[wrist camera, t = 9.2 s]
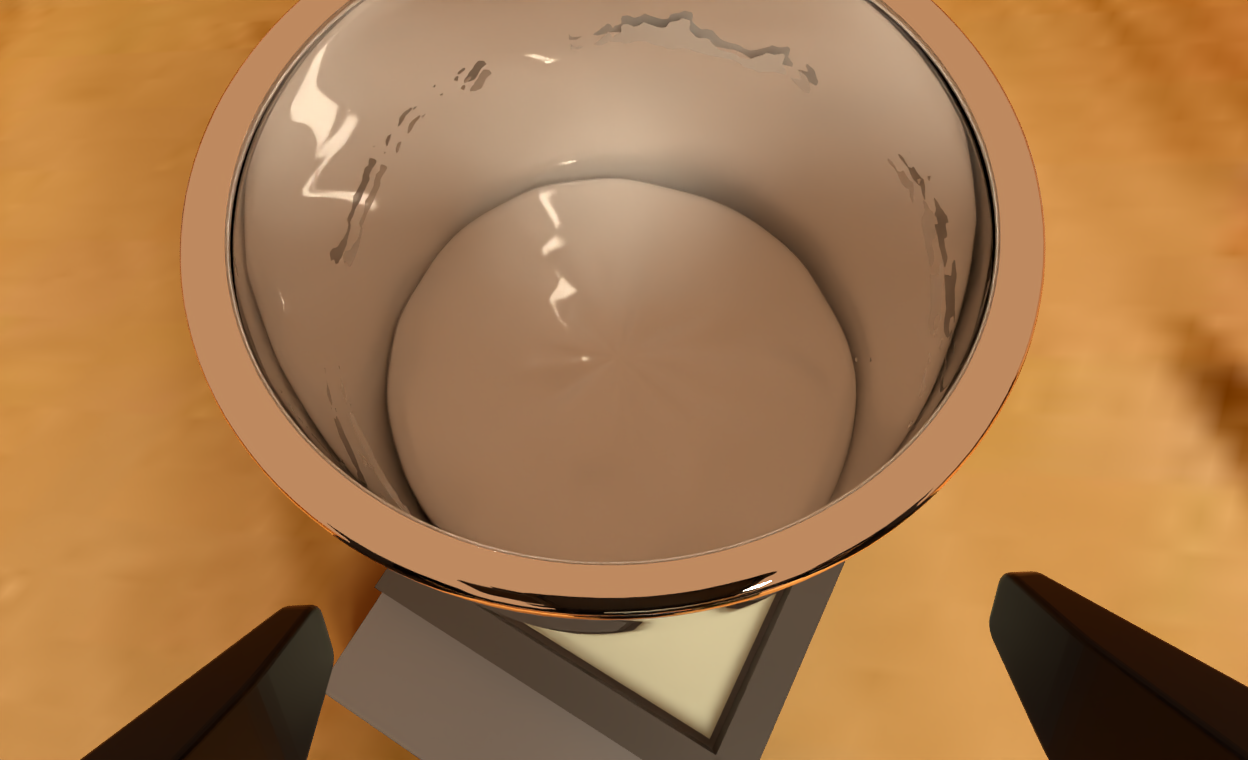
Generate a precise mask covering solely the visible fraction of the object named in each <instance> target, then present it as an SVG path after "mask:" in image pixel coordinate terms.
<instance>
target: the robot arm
mask: <svg viewBox="0 0 1248 760" xmlns="http://www.w3.org/2000/svg"><path fill="white" fill-rule="evenodd" d="M989 627H990V632H991V636H992V639H993V641H994V643H995V646H996V648H997V650H998V652H999V654H1000V656H1001V659H1002V661H1003V663H1004V665H1005V667H1006V670H1007V672H1008V674H1009V676H1010V678H1011V681H1012V683H1013V685H1014V687H1015V689H1016V691H1017V694H1018V696H1019V698H1020V700H1021V702H1022V705H1023V707H1024V709H1025V711H1026V713H1027V716H1028V718H1029V720H1030V722H1031V724H1032V726H1033V729H1034V731H1035V733H1036V735H1037V737H1038V739H1039V741H1040V743H1041V745H1042V747H1043V749H1044V751H1045V753H1046V755H1047V757H1048V759H1049V760H1248V687H1247V686H1245V685H1243V684H1241V683H1240V682H1238V681H1236V680H1234V679H1232V678H1231V677H1229V676H1227V675H1225V674H1223V673H1221V672H1220V671H1218V670H1216V669H1214V668H1212V667H1210V666H1209V665H1207V664H1205V663H1203V662H1201V661H1200V660H1198V659H1196V658H1194V657H1192V656H1190V655H1189V654H1187V653H1185V652H1183V651H1181V650H1180V649H1178V648H1176V647H1174V646H1172V645H1170V644H1169V643H1167V642H1165V641H1163V640H1161V639H1159V638H1158V637H1156V636H1154V635H1152V634H1150V633H1149V632H1147V631H1145V630H1143V629H1141V628H1139V627H1138V626H1136V625H1134V624H1132V623H1130V622H1129V621H1127V620H1125V619H1123V618H1121V617H1119V616H1118V615H1116V614H1114V613H1112V612H1110V611H1108V610H1107V609H1105V608H1103V607H1101V606H1099V605H1098V604H1096V603H1094V602H1092V601H1090V600H1088V599H1087V598H1085V597H1083V596H1081V595H1079V594H1077V593H1076V592H1074V591H1072V590H1070V589H1068V588H1067V587H1065V586H1063V585H1061V584H1059V583H1057V582H1056V581H1054V580H1052V579H1050V578H1048V577H1047V576H1045V575H1043V574H1041V573H1038V572H1032V571H1030V572H1010V573H1006V574H1004V575H1003V576H1002V577H1001V578H1000V581H999V584H998V588H997V592H996V596H995V599H994V603H993V607H992V611H991V615H990V620H989ZM333 661H334V654H333V648H332V645H331V641H330V638H329V635H328V631H327V628H326V625H325V622H324V618H323V615H322V612H321V610H320V609H319V608H318V607H317V606H314V605H298V606H287V607H284V608H282V609H280V610H279V611H277V612H276V613H275V614H273V615H272V616H271V617H269V618H268V619H267V620H265V621H264V622H263V623H261V624H260V625H259V626H257V627H256V628H255V629H253V630H252V631H251V632H249V633H248V634H247V635H245V636H244V637H243V638H241V639H240V640H239V641H237V642H236V643H235V644H233V645H232V646H231V647H229V648H228V649H227V650H225V651H224V652H223V653H221V654H220V655H219V656H217V657H216V658H215V659H213V660H212V661H211V662H209V663H208V664H207V665H205V666H204V667H203V668H201V669H200V670H199V671H197V672H196V673H195V674H194V675H192V676H191V677H190V678H188V679H187V680H186V681H184V682H183V683H182V684H180V685H179V686H178V687H176V688H175V689H174V690H172V691H171V692H170V693H168V694H167V695H166V696H164V697H163V698H162V699H160V700H159V701H158V702H156V703H155V704H154V705H152V706H151V707H150V708H148V709H147V710H146V711H144V712H143V713H142V714H140V715H139V716H138V717H136V718H135V719H134V720H132V721H131V722H130V723H128V724H127V725H126V726H124V727H123V728H122V729H120V730H119V731H118V732H116V733H115V734H114V735H112V736H111V737H110V738H109V739H107V740H106V741H105V742H103V743H102V744H101V745H99V746H98V747H97V748H95V749H94V750H93V751H91V752H90V753H89V754H87V755H86V756H85V757H83V758H82V759H81V760H307V756H308V753H309V749H310V746H311V742H312V739H313V735H314V732H315V728H316V725H317V721H318V718H319V714H320V711H321V707H322V704H323V700H324V697H325V693H326V690H327V686H328V683H329V679H330V676H331V672H332V668H333Z"/></svg>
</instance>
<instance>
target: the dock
mask: <svg viewBox="0 0 1248 760" xmlns="http://www.w3.org/2000/svg"><path fill="white" fill-rule="evenodd" d="M844 563H845V561H843V562H841V563H840V564H838V565H836V566H834V567H832V568H830V569H828V570H826V571H824V572H822V573H820V574H818V575H815V576H813V577H811V578H809V579H807V580H805V581H802V582H800V583H797V584H795V585H792V586H790V587H787V588H785V589H783V590H781V591H779V592H777V593H776V594H774V595H772V596H770V597H768V598H766V599H764V600H762V601H761V602H759V603H757V604H755V605H753V606H751V607H748V608H746V609H744V610H742V611H740V612H737V613H735V614H732V615H730V616H727V617H725V618H722V619H719V620H716V621H713V622H710V623H706V624H703V625H699V626H695V627H692V628H687V629H683V630H678V631H673V632H667V633H660V634H652V635H643V636H615V637H608V636H591V635H581V634H573V633H567V632H560V631H555V630H550V629H545V628H541V627H537V626H534V625H530V624H526V623H523V622H520V621H517V620H514V619H511V618H509V617H506V616H503V615H501V614H498V613H495V612H493V611H491V610H489V609H486V608H484V607H482V606H480V605H477V604H475V603H473V602H471V601H468V600H465V599H462V598H459V597H456V596H453V595H450V594H446V593H443V592H441V591H438V590H435V589H433V588H430V587H428V586H425V585H423V584H420V583H418V582H415V581H413V580H411V579H409V578H406V577H404V576H402V575H400V574H397V573H395V572H393V571H392V570H390V569H388V568H387V569H386V571H385V572H384V574H383V575H382V577H381V578H380V580H379V581H378V583H377V584H376V586H375V588H376V589H378V590H379V591H381V592H382V594H381V595H380V597H379V598H378V600H377V601H376V603H375V604H374V606H373V607H372V609H371V610H370V612H369V613H368V615H367V616H366V618H365V619H364V621H363V623H362V624H361V626H360V627H359V629H358V630H357V632H356V633H355V635H354V636H353V638H352V639H351V641H350V642H349V644H348V645H347V647H346V648H345V650H344V651H343V653H342V654H341V656H340V657H339V659H338V660H337V662H336V664H335V665H334V667H333V668H332V672H331V676H330V679H329V683H328V686H327V690H326V693H325V694H327V695H328V696H330V697H331V698H332V699H334V700H335V701H337V702H338V703H340V704H341V705H343V706H344V707H345V708H347V709H348V710H350V711H351V712H353V713H354V714H356V715H357V716H358V717H360V718H361V719H363V720H364V721H366V722H367V723H369V724H370V725H371V726H373V727H374V728H376V729H377V730H379V731H380V732H382V733H383V734H385V735H386V736H387V737H389V738H390V739H392V740H393V741H395V742H396V743H398V744H399V745H400V746H402V747H403V748H405V749H406V750H408V751H409V752H411V753H412V754H413V755H415V756H416V757H418V758H419V759H421V760H760V758H761V756H762V753H763V751H764V749H765V746H766V744H767V742H768V739H769V737H770V735H771V732H772V730H773V728H774V725H775V723H776V721H777V718H778V716H779V714H780V711H781V709H782V707H783V705H784V702H785V700H786V698H787V695H788V693H789V691H790V688H791V686H792V684H793V681H794V679H795V677H796V674H797V672H798V670H799V667H800V665H801V663H802V660H803V658H804V656H805V653H806V651H807V649H808V646H809V644H810V642H811V639H812V637H813V635H814V632H815V630H816V628H817V625H818V623H819V621H820V619H821V616H822V614H823V612H824V609H825V607H826V605H827V602H828V600H829V598H830V595H831V593H832V591H833V588H834V586H835V584H836V581H837V579H838V577H839V574H840V572H841V570H842V567H843V565H844Z"/></svg>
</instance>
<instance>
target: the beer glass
mask: <svg viewBox="0 0 1248 760" xmlns="http://www.w3.org/2000/svg"><path fill="white" fill-rule="evenodd" d="M1044 270H1045V225H1044V215H1043V207H1042V200H1041V194H1040V188H1039V183H1038V178H1037V173H1036V169H1035V166H1034V162H1033V158H1032V155H1031V152H1030V149H1029V146H1028V143H1027V140H1026V137H1025V134H1024V132H1023V130H1022V127H1021V125H1020V122H1019V120H1018V118H1017V116H1016V114H1015V111H1014V109H1013V107H1012V105H1011V103H1010V101H1009V99H1008V97H1007V95H1006V93H1005V92H1004V90H1003V88H1002V86H1001V85H1000V83H999V81H998V79H997V78H996V76H995V74H994V73H993V71H992V70H991V68H990V67H989V65H988V64H987V62H986V61H985V60H984V58H983V57H982V55H981V54H980V53H979V51H978V50H977V49H976V47H975V46H974V45H973V44H972V42H971V41H970V40H969V39H968V38H967V36H966V35H965V34H964V33H963V32H962V31H961V29H960V28H959V27H958V26H957V25H956V24H955V23H954V22H953V21H952V20H951V18H950V17H949V16H948V15H947V14H946V13H945V12H944V11H943V10H942V9H941V8H940V7H939V6H938V5H937V4H936V3H934V2H933V1H932V0H299V1H298V2H297V3H296V4H295V5H294V6H293V7H292V8H290V9H289V10H288V11H287V12H286V13H285V14H284V15H283V16H282V17H281V18H280V19H279V20H278V21H277V22H276V23H275V25H274V26H273V27H272V28H271V29H270V30H269V31H268V32H267V33H266V35H265V36H264V37H263V38H262V39H261V40H260V42H259V43H258V44H257V45H256V47H255V48H254V49H253V50H252V52H251V53H250V54H249V56H248V57H247V58H246V60H245V61H244V62H243V64H242V65H241V66H240V68H239V69H238V71H237V72H236V74H235V75H234V77H233V79H232V80H231V82H230V83H229V85H228V87H227V88H226V90H225V92H224V93H223V95H222V97H221V99H220V101H219V102H218V104H217V106H216V108H215V110H214V112H213V114H212V116H211V119H210V121H209V123H208V125H207V127H206V130H205V132H204V135H203V137H202V140H201V142H200V145H199V148H198V151H197V154H196V156H195V159H194V163H193V166H192V170H191V174H190V177H189V181H188V186H187V190H186V195H185V201H184V208H183V215H182V225H181V235H180V276H181V288H182V296H183V303H184V309H185V314H186V319H187V324H188V329H189V333H190V336H191V340H192V344H193V347H194V351H195V354H196V357H197V360H198V363H199V365H200V368H201V370H202V373H203V375H204V378H205V380H206V383H207V385H208V387H209V389H210V391H211V393H212V395H213V397H214V400H215V402H216V403H217V405H218V407H219V409H220V411H221V413H222V414H223V416H224V418H225V420H226V422H227V423H228V425H229V426H230V428H231V429H232V431H233V432H234V434H235V436H236V437H237V439H238V440H239V441H240V443H241V444H242V445H243V447H244V448H245V449H246V451H247V452H248V454H249V455H250V456H251V457H252V459H253V460H254V461H255V462H256V464H257V465H258V466H259V467H260V469H261V470H262V471H263V472H264V473H265V475H266V476H267V477H268V478H269V479H270V480H271V481H272V482H273V483H274V484H275V485H276V486H277V488H278V489H279V490H280V491H281V492H282V493H283V494H285V495H286V496H287V497H288V498H289V499H290V500H291V501H292V502H293V503H294V504H295V505H296V506H297V507H298V508H299V509H301V510H302V511H303V512H304V513H305V514H306V515H308V516H309V517H310V518H311V519H312V520H314V521H315V522H316V523H317V524H319V525H320V526H321V527H323V528H324V529H325V530H327V531H328V532H329V533H330V534H332V535H333V536H335V537H336V538H337V539H339V540H340V541H342V542H343V543H345V544H346V545H348V546H349V547H351V548H352V549H354V550H356V551H357V552H359V553H361V554H362V555H364V556H366V557H368V558H369V559H371V560H373V561H374V562H376V563H378V564H380V565H382V566H384V567H386V568H388V569H390V570H392V571H393V572H395V573H397V574H400V575H402V576H404V577H406V578H409V579H411V580H413V581H415V582H418V583H420V584H423V585H425V586H428V587H430V588H433V589H435V590H438V591H441V592H443V593H446V594H450V595H453V596H456V597H459V598H462V599H465V600H468V601H471V602H473V603H475V604H477V605H480V606H482V607H484V608H486V609H489V610H491V611H493V612H495V613H498V614H501V615H503V616H506V617H509V618H511V619H514V620H517V621H520V622H523V623H526V624H530V625H534V626H537V627H541V628H545V629H550V630H555V631H560V632H567V633H573V634H581V635H591V636H608V637H615V636H643V635H652V634H660V633H667V632H673V631H678V630H683V629H687V628H692V627H695V626H699V625H703V624H706V623H710V622H713V621H716V620H719V619H722V618H725V617H727V616H730V615H732V614H735V613H737V612H740V611H742V610H744V609H746V608H748V607H751V606H753V605H755V604H757V603H759V602H761V601H762V600H764V599H766V598H768V597H770V596H772V595H774V594H776V593H777V592H779V591H781V590H783V589H785V588H787V587H790V586H792V585H795V584H797V583H800V582H802V581H805V580H807V579H809V578H811V577H813V576H815V575H818V574H820V573H822V572H824V571H826V570H828V569H830V568H832V567H834V566H836V565H838V564H840V563H841V562H843V561H845V560H847V559H849V558H851V557H852V556H854V555H856V554H857V553H859V552H861V551H862V550H864V549H866V548H867V547H869V546H871V545H872V544H874V543H875V542H877V541H878V540H879V539H881V538H882V537H884V536H885V535H887V534H888V533H890V532H891V531H892V530H894V529H895V528H896V527H897V526H899V525H900V524H901V523H903V522H904V521H905V520H907V519H908V518H909V517H910V516H911V515H913V514H914V513H915V512H916V511H917V510H918V509H920V508H921V507H922V506H923V505H924V504H926V503H927V502H928V501H929V500H930V499H931V498H932V497H933V496H934V495H935V494H936V493H937V492H938V491H939V490H940V489H941V488H942V487H943V486H944V485H945V484H946V483H947V482H948V481H949V480H950V479H951V478H952V476H953V475H954V474H955V473H956V472H957V471H958V470H959V469H960V468H961V466H962V465H963V464H964V463H965V461H966V460H967V459H968V458H969V457H970V455H971V454H972V453H973V452H974V450H975V449H976V448H977V446H978V445H979V444H980V442H981V441H982V439H983V438H984V437H985V435H986V434H987V432H988V431H989V429H990V428H991V426H992V425H993V423H994V421H995V420H996V418H997V417H998V415H999V413H1000V412H1001V410H1002V408H1003V406H1004V404H1005V402H1006V401H1007V399H1008V397H1009V395H1010V393H1011V391H1012V389H1013V387H1014V385H1015V383H1016V381H1017V379H1018V376H1019V374H1020V371H1021V369H1022V366H1023V364H1024V361H1025V359H1026V356H1027V353H1028V350H1029V347H1030V344H1031V341H1032V337H1033V334H1034V330H1035V326H1036V322H1037V318H1038V313H1039V308H1040V303H1041V297H1042V290H1043V284H1044Z"/></svg>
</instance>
